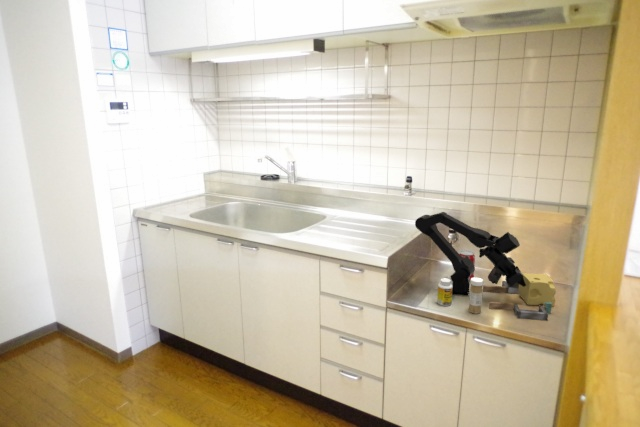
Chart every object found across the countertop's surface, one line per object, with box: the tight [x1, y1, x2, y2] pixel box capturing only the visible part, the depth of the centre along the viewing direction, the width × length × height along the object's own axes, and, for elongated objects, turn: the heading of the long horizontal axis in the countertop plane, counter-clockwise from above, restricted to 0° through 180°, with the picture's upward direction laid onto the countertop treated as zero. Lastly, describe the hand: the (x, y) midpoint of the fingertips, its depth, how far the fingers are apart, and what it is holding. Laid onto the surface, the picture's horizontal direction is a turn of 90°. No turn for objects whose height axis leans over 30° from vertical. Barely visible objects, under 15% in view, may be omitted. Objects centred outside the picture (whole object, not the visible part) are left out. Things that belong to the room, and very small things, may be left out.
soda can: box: [459, 249, 476, 283], centre depth 193 cm, size 7×7×13 cm
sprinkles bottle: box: [468, 276, 484, 315], centre depth 162 cm, size 5×5×13 cm
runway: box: [482, 280, 553, 321], centre depth 171 cm, size 22×29×4 cm
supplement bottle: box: [436, 277, 453, 307], centre depth 170 cm, size 6×6×10 cm
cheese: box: [518, 272, 557, 307], centre depth 171 cm, size 10×11×10 cm
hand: (524, 285), depth 169 cm, fingers closed
